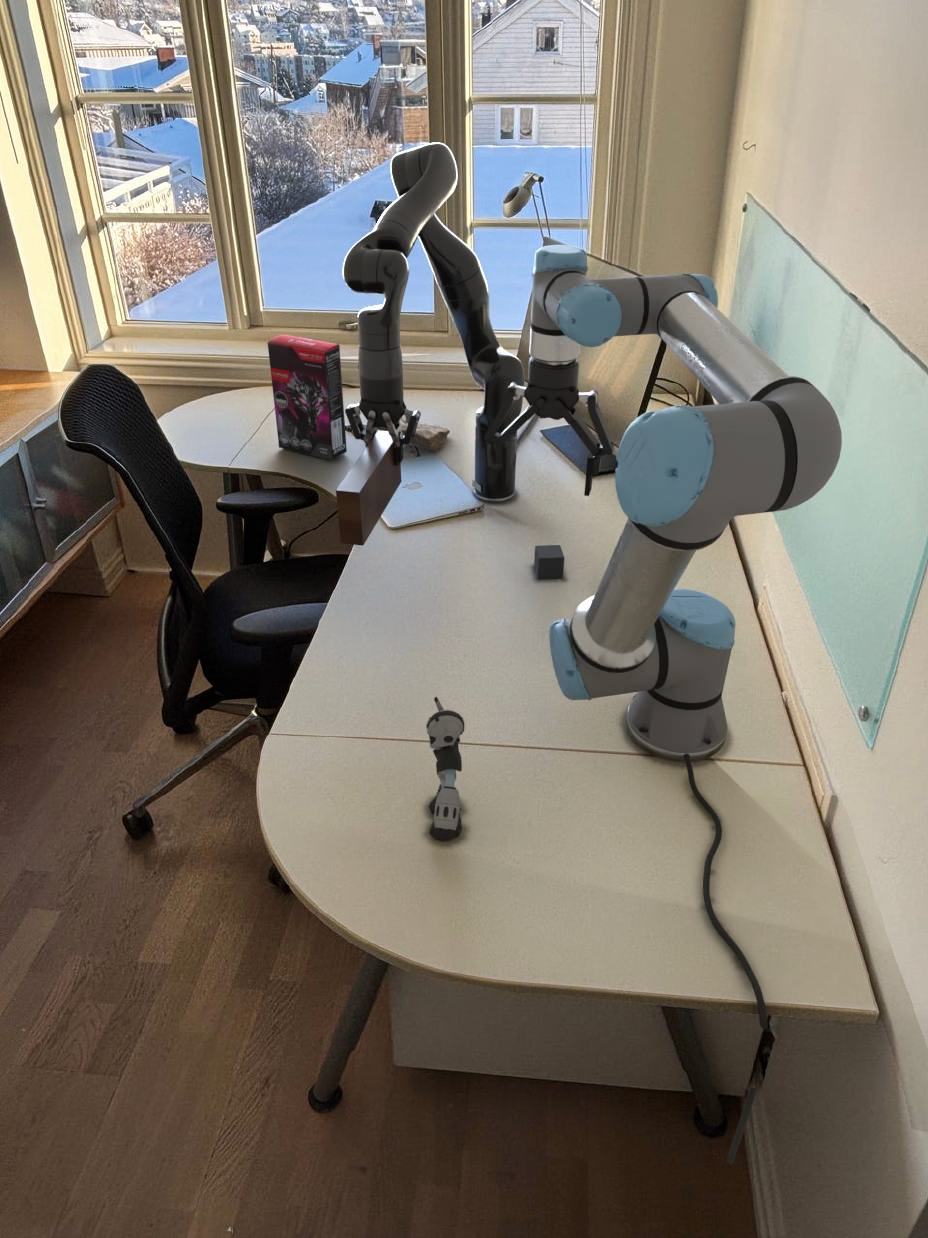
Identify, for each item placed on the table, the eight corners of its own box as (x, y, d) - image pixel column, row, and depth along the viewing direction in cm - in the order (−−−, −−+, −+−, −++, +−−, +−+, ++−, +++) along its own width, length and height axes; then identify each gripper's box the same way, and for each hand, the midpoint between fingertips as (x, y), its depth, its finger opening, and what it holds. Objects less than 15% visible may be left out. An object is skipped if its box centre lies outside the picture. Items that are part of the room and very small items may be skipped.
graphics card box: (276, 448, 231) (264, 340, 216) (293, 439, 236) (282, 332, 221) (333, 462, 225) (324, 351, 209) (349, 452, 230) (341, 343, 214)
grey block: (562, 579, 180) (564, 557, 178) (537, 580, 180) (538, 558, 177) (558, 566, 184) (560, 544, 182) (533, 567, 184) (535, 545, 181)
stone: (352, 434, 231) (356, 410, 229) (373, 426, 244) (377, 403, 242) (430, 458, 227) (435, 434, 225) (447, 448, 241) (452, 426, 238)
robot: (467, 874, 119) (468, 759, 108) (429, 876, 119) (427, 760, 108) (460, 769, 135) (460, 659, 124) (426, 770, 135) (424, 660, 124)
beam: (363, 545, 155) (359, 492, 149) (340, 543, 155) (335, 490, 149) (401, 481, 174) (399, 432, 168) (381, 479, 174) (378, 430, 169)
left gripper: (426, 367, 160) (428, 458, 170) (350, 359, 163) (355, 449, 173) (413, 381, 154) (415, 475, 164) (334, 373, 157) (341, 466, 167)
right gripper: (641, 357, 137) (626, 486, 149) (479, 342, 143) (477, 468, 155) (635, 373, 131) (620, 506, 143) (466, 357, 137) (465, 487, 149)
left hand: (385, 461), depth 168 cm, fingers closed on beam, 4 cm apart
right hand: (546, 487), depth 149 cm, fingers open, 13 cm apart
